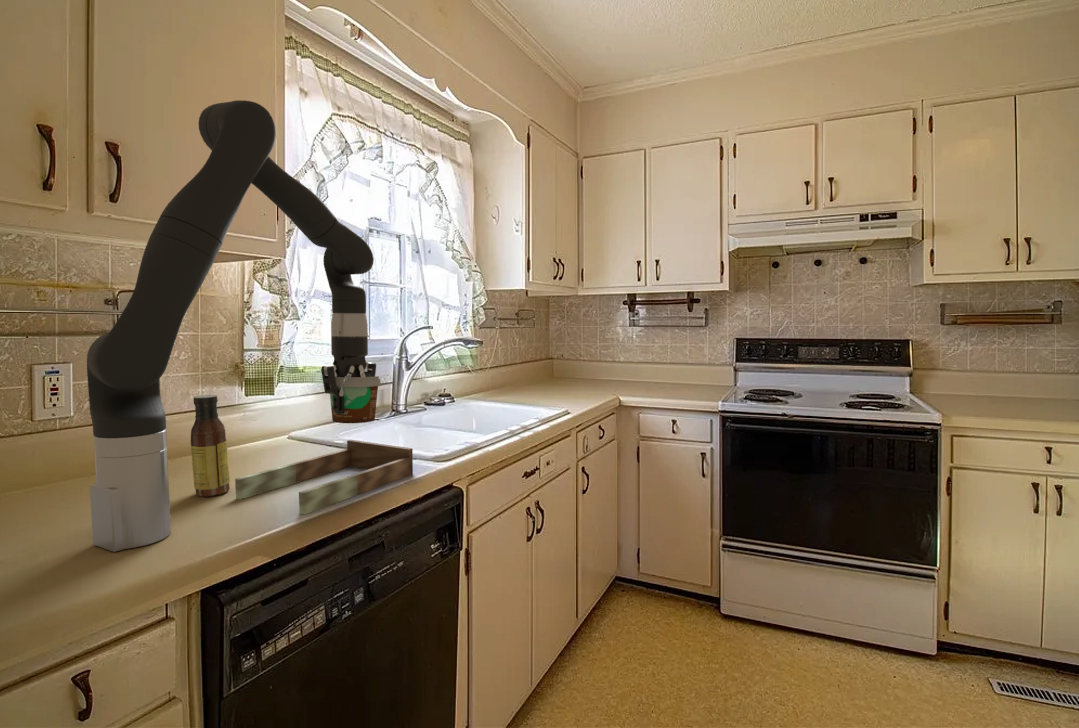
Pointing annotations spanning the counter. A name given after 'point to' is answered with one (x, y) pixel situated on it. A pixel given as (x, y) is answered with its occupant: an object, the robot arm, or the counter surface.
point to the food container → (357, 399)
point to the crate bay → (378, 458)
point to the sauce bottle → (209, 449)
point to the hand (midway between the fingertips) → (350, 411)
